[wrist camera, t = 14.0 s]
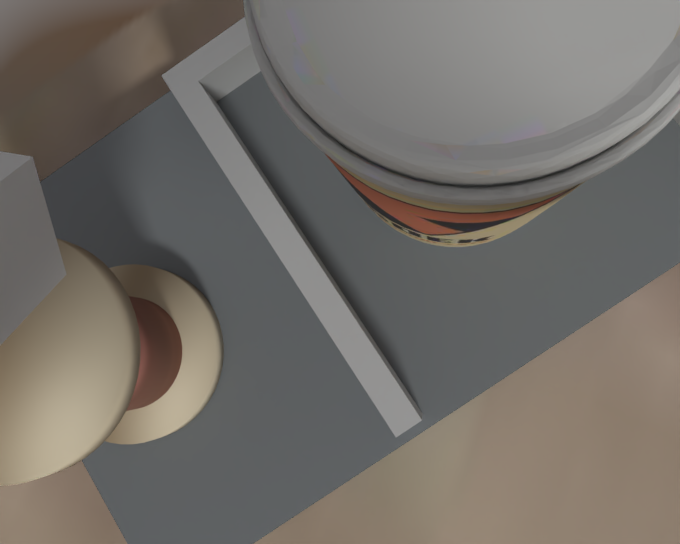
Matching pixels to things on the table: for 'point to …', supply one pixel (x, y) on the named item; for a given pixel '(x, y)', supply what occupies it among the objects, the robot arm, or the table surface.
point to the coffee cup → (470, 99)
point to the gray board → (326, 296)
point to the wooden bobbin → (104, 365)
